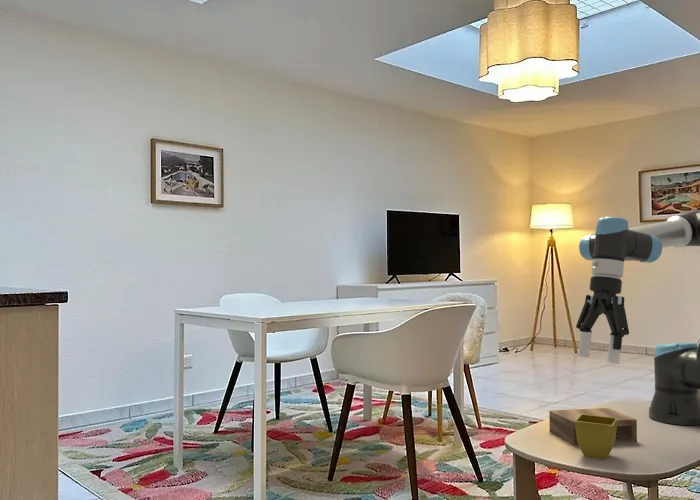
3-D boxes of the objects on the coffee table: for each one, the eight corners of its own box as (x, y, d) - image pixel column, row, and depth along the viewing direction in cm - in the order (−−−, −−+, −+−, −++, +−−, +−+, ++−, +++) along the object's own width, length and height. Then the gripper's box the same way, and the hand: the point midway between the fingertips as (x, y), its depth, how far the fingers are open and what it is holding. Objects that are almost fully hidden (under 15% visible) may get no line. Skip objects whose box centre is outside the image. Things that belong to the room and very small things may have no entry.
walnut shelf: (608, 429, 176) (607, 408, 176) (636, 442, 163) (636, 419, 163) (549, 432, 173) (549, 410, 173) (574, 445, 160) (574, 422, 160)
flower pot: (581, 448, 158) (581, 413, 158) (618, 453, 153) (617, 417, 153) (574, 457, 150) (574, 420, 150) (613, 463, 146) (612, 425, 146)
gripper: (568, 275, 170) (560, 352, 169) (621, 274, 146) (612, 364, 144) (593, 279, 172) (585, 356, 170) (650, 278, 147) (641, 367, 145)
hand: (597, 359), depth 157 cm, fingers open, 13 cm apart
